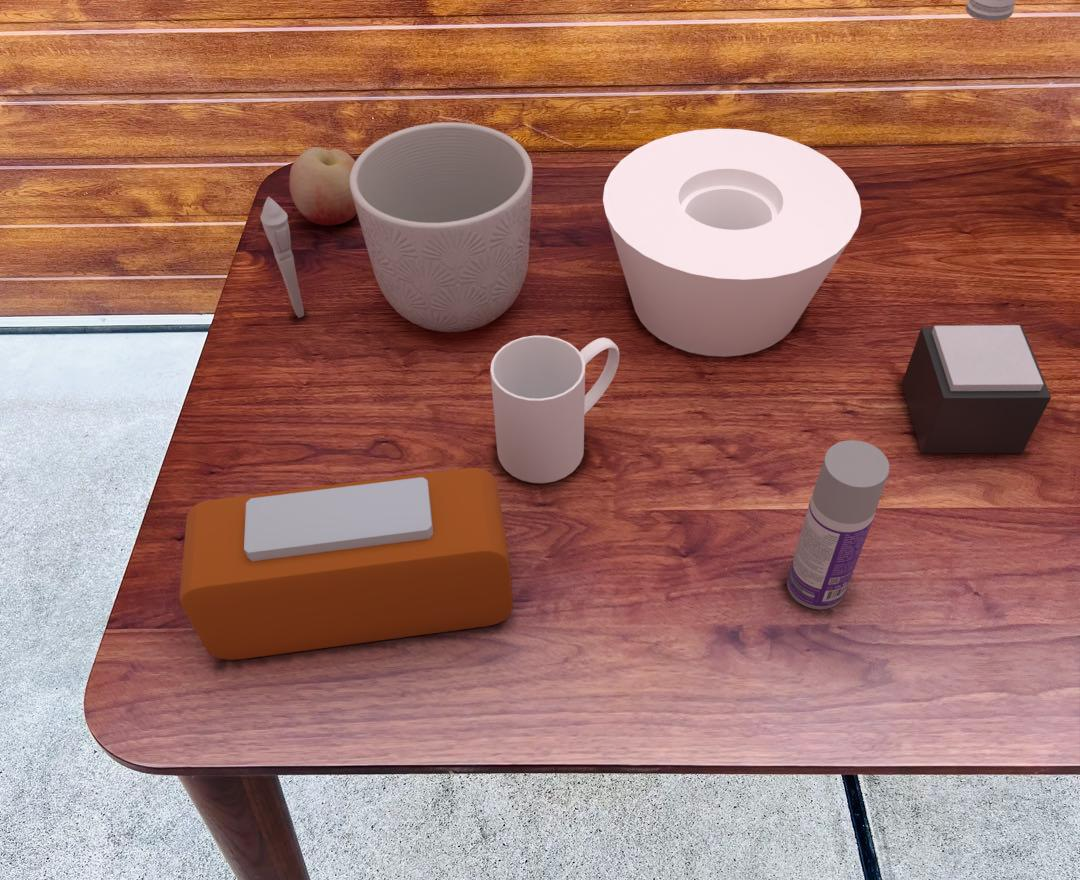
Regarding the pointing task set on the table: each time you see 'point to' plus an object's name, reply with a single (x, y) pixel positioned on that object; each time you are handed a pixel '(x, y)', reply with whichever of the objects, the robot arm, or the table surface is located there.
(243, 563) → the alarm clock
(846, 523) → the container
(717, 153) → the white tapered cylinder
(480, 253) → the planter
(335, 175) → the fruit
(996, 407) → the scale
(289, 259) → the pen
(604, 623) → the table surface
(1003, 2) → the chess piece
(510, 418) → the mug
